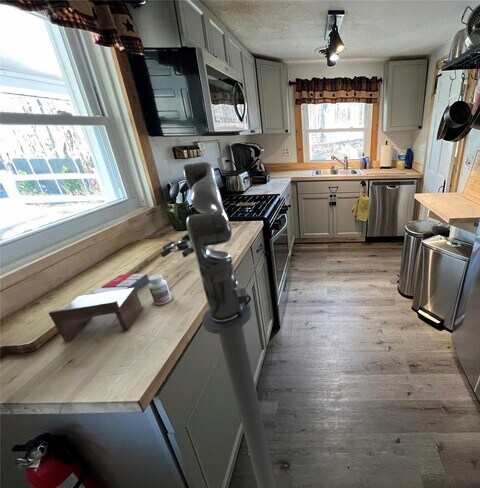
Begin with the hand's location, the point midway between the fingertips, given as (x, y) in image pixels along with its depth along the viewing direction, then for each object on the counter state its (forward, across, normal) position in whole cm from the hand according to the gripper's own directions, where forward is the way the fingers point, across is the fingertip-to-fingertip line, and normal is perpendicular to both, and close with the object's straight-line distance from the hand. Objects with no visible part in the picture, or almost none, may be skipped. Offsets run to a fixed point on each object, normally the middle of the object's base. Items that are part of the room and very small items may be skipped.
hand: (172, 254), depth 97 cm
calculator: (+6, -20, +13) cm, 24 cm away
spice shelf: (+24, -10, +13) cm, 29 cm away
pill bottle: (+11, 0, +13) cm, 17 cm away
